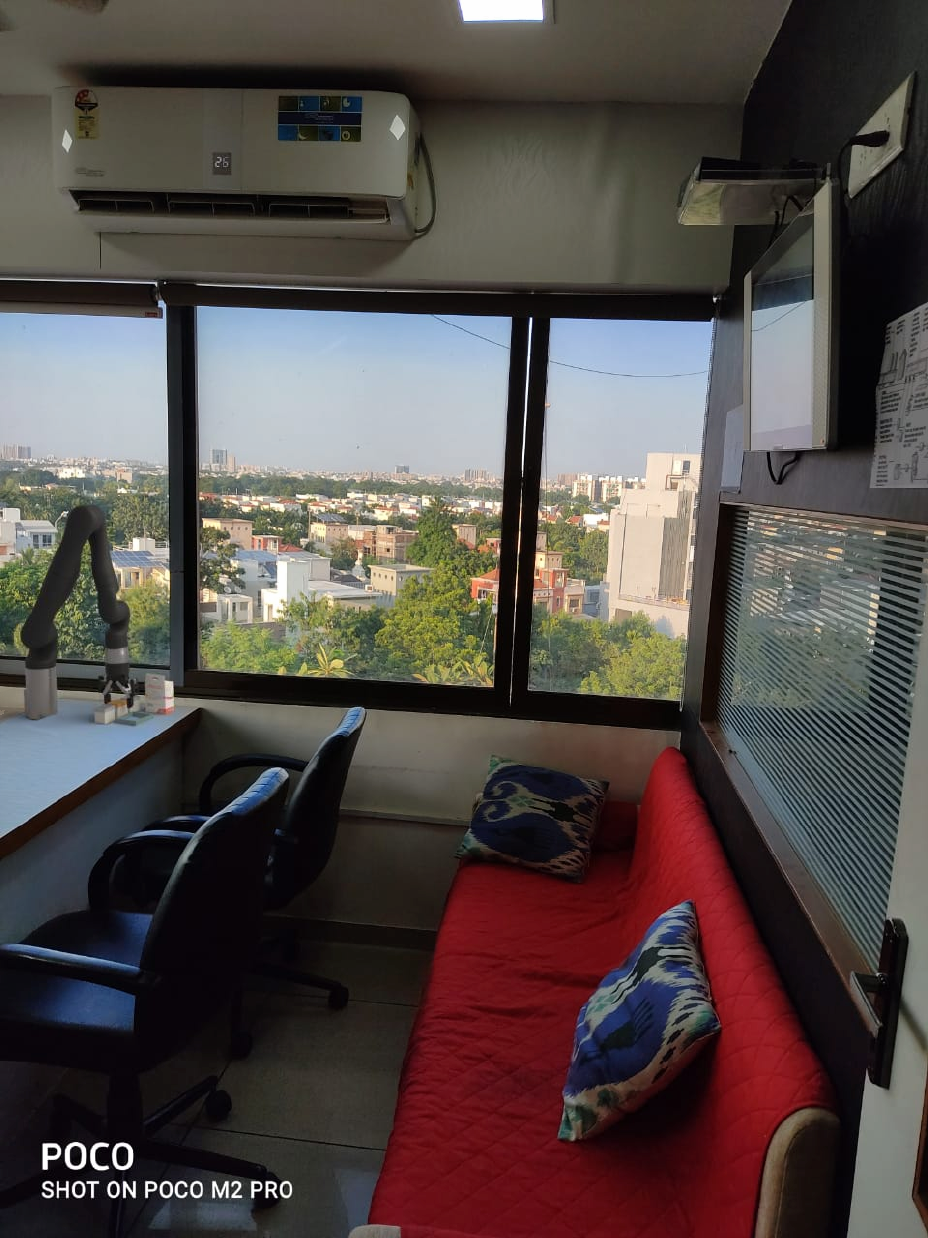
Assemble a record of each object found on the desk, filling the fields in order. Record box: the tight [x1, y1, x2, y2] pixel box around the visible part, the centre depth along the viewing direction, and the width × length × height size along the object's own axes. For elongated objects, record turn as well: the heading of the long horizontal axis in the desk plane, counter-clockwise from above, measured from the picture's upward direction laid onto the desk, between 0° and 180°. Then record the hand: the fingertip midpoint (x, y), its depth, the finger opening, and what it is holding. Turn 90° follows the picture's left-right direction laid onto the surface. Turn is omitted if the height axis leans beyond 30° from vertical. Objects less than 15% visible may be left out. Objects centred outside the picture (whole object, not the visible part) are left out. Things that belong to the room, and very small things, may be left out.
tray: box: [114, 711, 154, 727], centre depth 280 cm, size 8×9×2 cm
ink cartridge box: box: [144, 673, 175, 715], centre depth 290 cm, size 9×5×15 cm, turn 73°
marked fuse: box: [107, 698, 128, 717], centre depth 283 cm, size 4×5×5 cm
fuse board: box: [89, 695, 144, 726], centre depth 283 cm, size 7×19×6 cm, turn 165°
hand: (119, 706), depth 283 cm, fingers open, 8 cm apart
